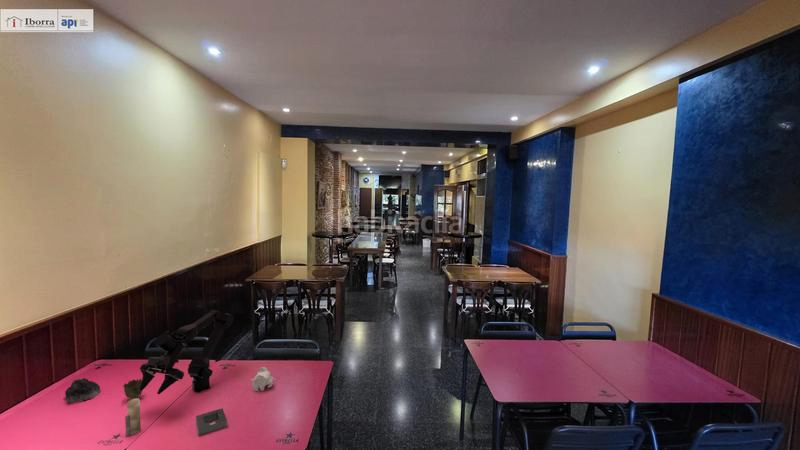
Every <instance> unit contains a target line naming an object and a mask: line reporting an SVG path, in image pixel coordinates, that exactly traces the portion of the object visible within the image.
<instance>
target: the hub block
mask: <svg viewBox="0 0 800 450" xmlns="http://www.w3.org/2000/svg"><path fill="white" fill-rule="evenodd" d="M210 422H211V423H210ZM195 424H196V428H197V429H196V430H197V434H198V437H200V436H204V435H207V434H210V433H213V432H216V431H219V430H222V429H225V428H227V427H228V421H227V417H226V414H225V412H224V409H223V407H221V408H218V409H216V410H211V411H208V412H205V413H201V414H198V415H195Z"/></svg>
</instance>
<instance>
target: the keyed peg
mask: <svg viewBox="0 0 800 450" xmlns="http://www.w3.org/2000/svg"><path fill="white" fill-rule="evenodd" d="M126 405H127V406H126V410H127V412H126V413H127V415H125V417H124V418H125V437H130V436H133V435H136V434H138V433H139V432H141V429H142V427H141V400H140V398H138V399H132V400H128V401H127V402H126Z"/></svg>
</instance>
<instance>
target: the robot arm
mask: <svg viewBox="0 0 800 450" xmlns="http://www.w3.org/2000/svg"><path fill="white" fill-rule="evenodd" d="M234 320H235V319H234V316H233V314H231V313H223V312H221V311H219V310H209V312H207V313H205V314H204V315H203V316H202V317H200V318H199V319H197V320H196V321H194V322H192V323H191V324H185V325H184V326H181V327H179V328H178V329H176V330H175V331H174V332H171V331H169V330H165V331H164V332H163V333H161V334H159V335H158V336H157V337H155V339H154V345H155V346H156V347H157V348H160V349H161V350H163V352H164V354H161V355H160V356H159V357H157V356H156V357H155V356H149V357H148V360H147V363H146V362H145V363H142V364H141V365H140V367H139V370H140V373H142V379H141V380H142V383H141V386H140V391H142V392H143V390H144V389H146V388H147V386H148V385H149V384H150V383H151V382H152V380H153V379H154V378H155V377H156V376H155V375H156V374H163V375H164V380H163V381H162V383H161V385H160V387H159V389H158V390H157V391H156V392H157V393H156V394H157V395H160V394H162V393H163V392H164V391H165V390H166V389H168V388H169V387H171V385H173V384H175V383H176V382H179V380H183V378H184V376H185V372H184V371H182V370H180V369H179V368H177V367H176V368H175V364H178V363H179V362H180V361H179V359H180V356H181V355H182V353H183V351H184V350H186V351H188V350H189V347H188V343H190V342H192V341H193V340H194V339H195V338H196V337H197V336H198V333H199V332H200V331H202V330H203V329H204V328H206V327H207V326H209V325H210V324H211V323H213V330H212V332H211V334H210V335H209V338H208V339H207V341H206V342H205V345H204V346H203V348H202V350H201V352H200V353H199V355H198V356H196V357H192V359H191V361H190V362H189V364H188V365H187V366H188V367H187V375H189V377H190V378H192V382H191V384H192V385H191V389H192V391H194V392H195V393H196V394H199V393H201V392H204V391H206V390H209V389H211V388H212V386H211V385H210V378H211V376H213V373H214V372H213V370H212V369H211V368H210V365H211V363H210V362H211V361H210V360H211V357H212V355H213V353H214V351H215V349H216V347H217V345H218V344H219V341H220V339H221V337H222V336H223V333H224V332H225V331H226V330H228V329H230V327H231V325H232V324H233V323H234Z"/></svg>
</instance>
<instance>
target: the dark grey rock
mask: <svg viewBox="0 0 800 450" xmlns="http://www.w3.org/2000/svg"><path fill="white" fill-rule="evenodd" d="M100 392H101V387H100V385H99V384H98V383H97V382H96V381H93V380H89V379H88V378H84V377H83V378H82V379H80V378H78V379H74V380H73V381H72V382H71V384H70V386H69V387H67V389H66V390H65V391H64V394H65V398H64V399H65V402H66V404H67V403H68V404H69V403H70V404H71V403H72V404H73V403H78V402H83V401H86V400H89V399H93V398H94V397H97V396H98V394H100Z"/></svg>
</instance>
